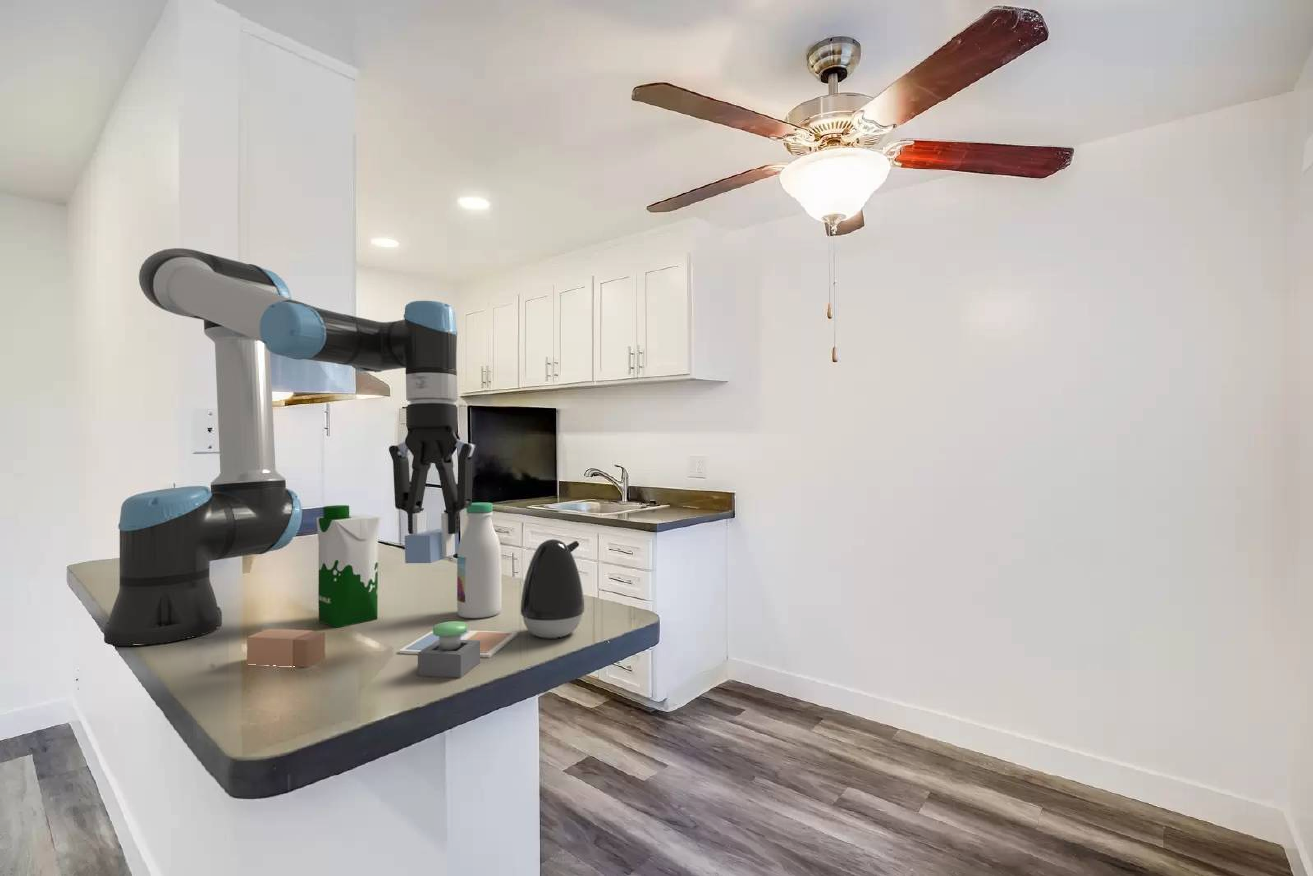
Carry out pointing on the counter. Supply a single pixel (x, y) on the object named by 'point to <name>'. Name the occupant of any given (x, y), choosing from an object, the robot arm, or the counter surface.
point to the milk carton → (347, 566)
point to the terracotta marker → (286, 648)
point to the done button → (449, 634)
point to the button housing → (449, 659)
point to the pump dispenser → (552, 591)
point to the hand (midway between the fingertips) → (434, 555)
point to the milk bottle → (479, 565)
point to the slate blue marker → (426, 546)
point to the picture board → (488, 639)
